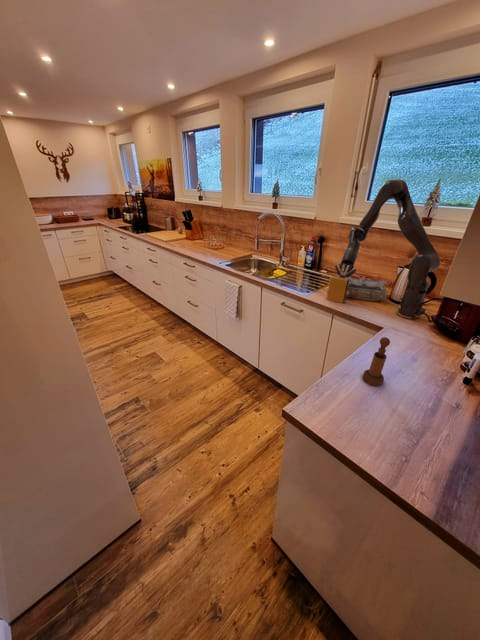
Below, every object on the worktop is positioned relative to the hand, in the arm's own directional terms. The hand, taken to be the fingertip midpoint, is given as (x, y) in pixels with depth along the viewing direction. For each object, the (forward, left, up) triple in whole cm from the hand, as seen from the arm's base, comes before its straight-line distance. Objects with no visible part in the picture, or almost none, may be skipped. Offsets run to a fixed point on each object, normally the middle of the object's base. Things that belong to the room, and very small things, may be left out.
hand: (340, 281), depth 157 cm
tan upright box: (-2, +6, -10) cm, 12 cm away
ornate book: (-6, -16, -10) cm, 20 cm away
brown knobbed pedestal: (-54, +54, -10) cm, 77 cm away
